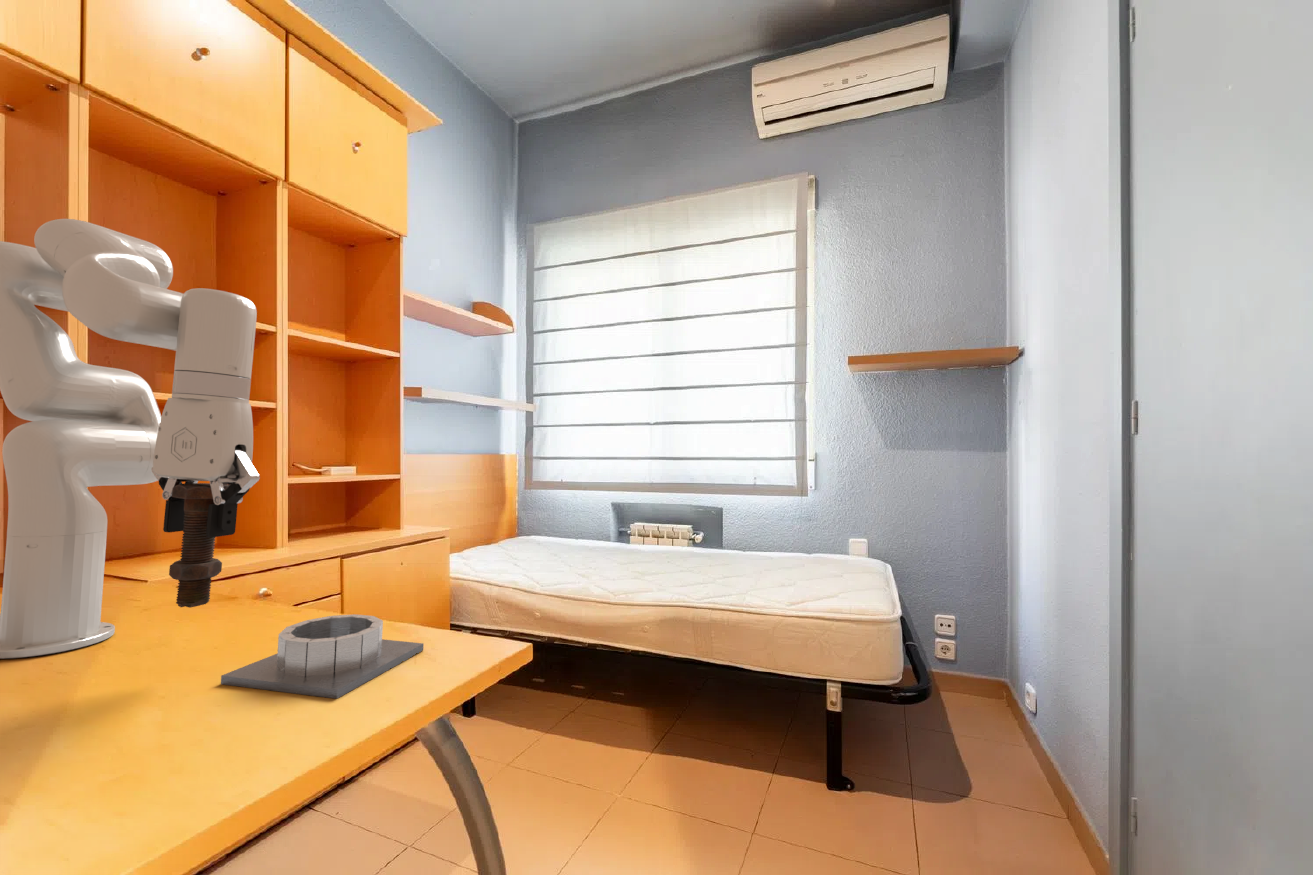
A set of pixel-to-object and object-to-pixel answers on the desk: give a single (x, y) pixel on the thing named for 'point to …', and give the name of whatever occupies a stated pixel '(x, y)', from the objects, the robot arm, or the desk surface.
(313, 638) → the ring fixture
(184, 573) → the bolt
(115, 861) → the desk surface
